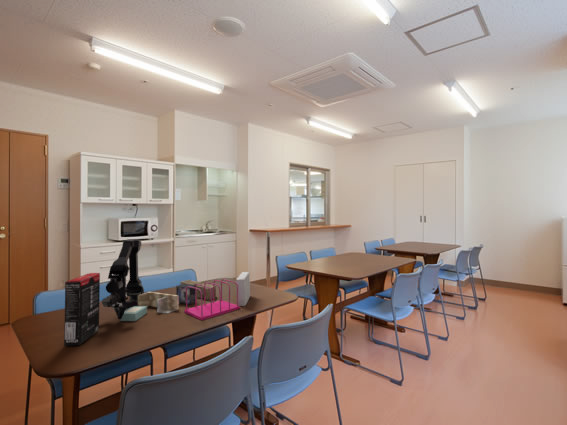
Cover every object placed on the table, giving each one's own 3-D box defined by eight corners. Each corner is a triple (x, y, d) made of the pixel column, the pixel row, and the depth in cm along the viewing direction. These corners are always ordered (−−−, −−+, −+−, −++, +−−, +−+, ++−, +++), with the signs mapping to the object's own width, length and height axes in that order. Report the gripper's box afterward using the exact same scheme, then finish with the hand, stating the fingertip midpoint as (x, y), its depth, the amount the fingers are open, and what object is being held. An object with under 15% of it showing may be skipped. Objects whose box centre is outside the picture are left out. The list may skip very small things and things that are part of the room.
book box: (120, 321, 155) (120, 313, 155) (132, 313, 167) (132, 306, 167) (135, 321, 154) (135, 313, 154) (147, 313, 166) (146, 306, 166)
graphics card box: (85, 331, 142) (84, 272, 142) (101, 330, 143) (100, 272, 142) (63, 347, 125) (62, 281, 125) (81, 346, 126) (81, 280, 125)
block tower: (217, 299, 196) (190, 290, 214) (217, 286, 196) (190, 278, 214) (207, 301, 190) (180, 292, 208) (207, 288, 190) (180, 280, 208)
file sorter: (184, 313, 167) (183, 284, 167) (222, 302, 185) (221, 277, 185) (201, 320, 155) (201, 290, 155) (240, 309, 173) (239, 281, 173)
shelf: (137, 309, 173) (137, 295, 173) (149, 305, 180) (149, 291, 180) (167, 314, 164) (167, 299, 164) (178, 309, 172) (178, 295, 172)
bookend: (157, 312, 167) (157, 299, 167) (166, 308, 174) (166, 296, 174) (167, 314, 165) (167, 301, 165) (176, 310, 171) (176, 297, 171)
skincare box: (242, 296, 199) (241, 271, 199) (250, 296, 199) (250, 271, 199) (236, 306, 178) (235, 279, 178) (245, 306, 178) (245, 279, 178)
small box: (175, 303, 184) (175, 285, 184) (182, 300, 190) (182, 283, 190) (189, 305, 180) (189, 287, 180) (196, 301, 186) (196, 284, 186)
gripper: (91, 290, 149) (91, 322, 149) (118, 294, 142) (118, 327, 142) (112, 285, 159) (112, 314, 159) (138, 288, 152) (138, 319, 152)
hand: (119, 319), depth 153 cm, fingers closed
